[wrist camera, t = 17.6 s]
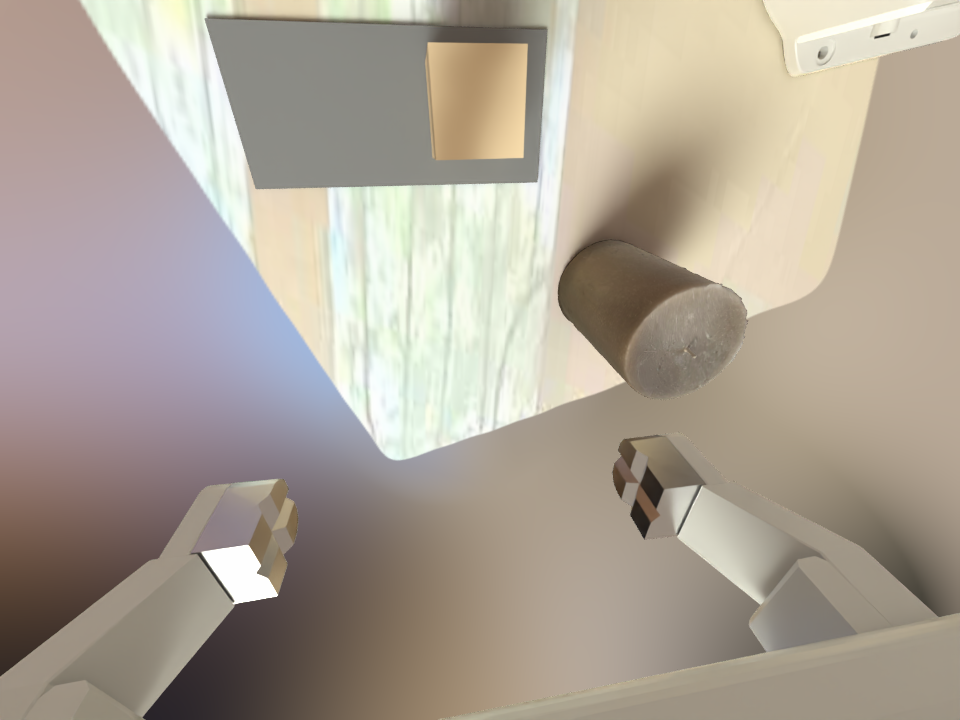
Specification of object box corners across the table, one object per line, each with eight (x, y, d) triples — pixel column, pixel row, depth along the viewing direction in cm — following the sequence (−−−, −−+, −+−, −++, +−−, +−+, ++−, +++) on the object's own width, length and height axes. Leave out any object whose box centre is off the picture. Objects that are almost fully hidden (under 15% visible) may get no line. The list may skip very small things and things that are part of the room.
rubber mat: (546, 30, 26) (547, 29, 26) (536, 181, 31) (537, 182, 31) (206, 19, 23) (204, 18, 23) (257, 188, 29) (255, 189, 28)
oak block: (427, 42, 21) (425, 62, 26) (436, 160, 24) (432, 157, 29) (527, 43, 22) (505, 63, 27) (523, 158, 25) (504, 155, 30)
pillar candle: (552, 329, 40) (619, 417, 27) (564, 238, 34) (654, 294, 22) (633, 324, 41) (733, 405, 28) (656, 236, 36) (790, 287, 23)
